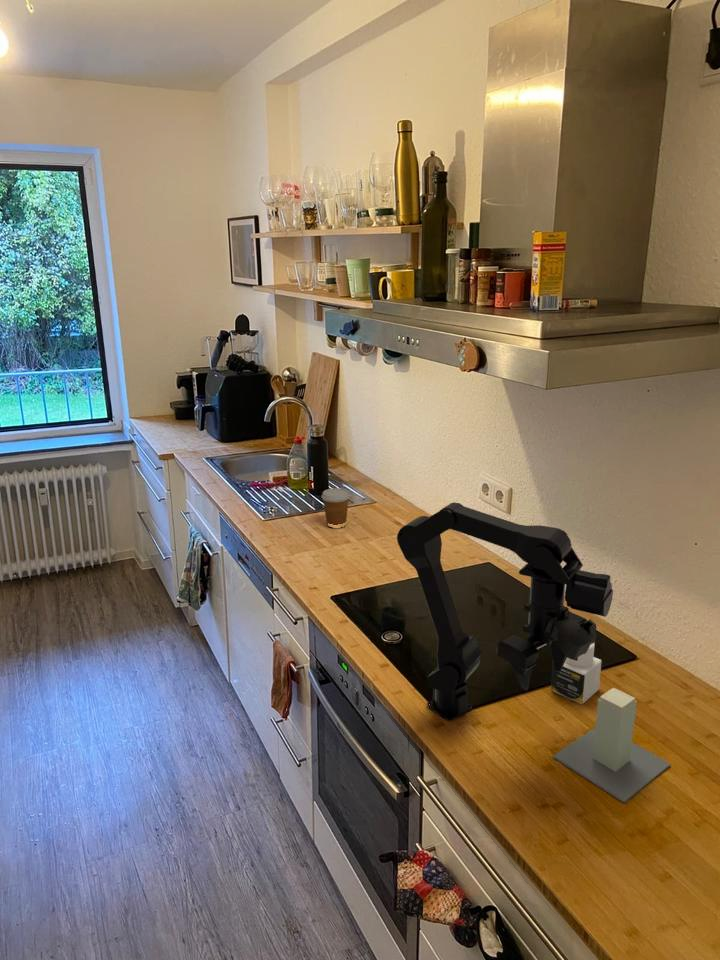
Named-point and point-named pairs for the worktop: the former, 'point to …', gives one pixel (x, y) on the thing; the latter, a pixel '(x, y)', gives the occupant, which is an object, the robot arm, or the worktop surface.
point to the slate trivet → (615, 783)
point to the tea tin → (614, 729)
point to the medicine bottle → (578, 677)
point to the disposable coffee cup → (336, 505)
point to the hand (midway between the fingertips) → (541, 679)
